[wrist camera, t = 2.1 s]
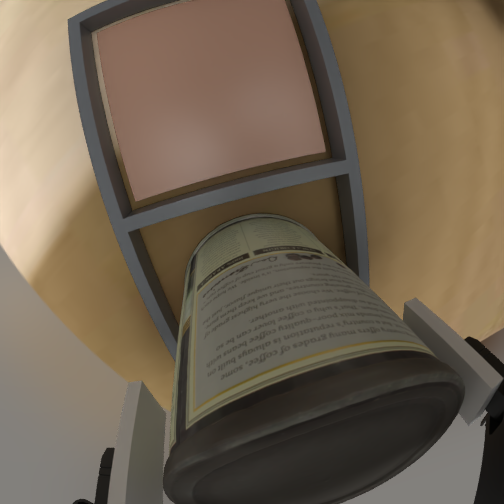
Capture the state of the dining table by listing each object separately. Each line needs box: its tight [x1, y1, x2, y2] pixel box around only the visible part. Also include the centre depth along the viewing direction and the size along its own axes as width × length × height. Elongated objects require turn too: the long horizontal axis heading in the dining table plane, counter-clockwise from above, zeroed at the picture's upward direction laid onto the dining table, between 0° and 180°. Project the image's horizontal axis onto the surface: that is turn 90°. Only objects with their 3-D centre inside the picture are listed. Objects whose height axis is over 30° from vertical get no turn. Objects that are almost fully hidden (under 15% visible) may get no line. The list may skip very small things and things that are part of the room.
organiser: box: [68, 0, 369, 362], centre depth 16 cm, size 15×28×2 cm, turn 14°
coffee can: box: [163, 214, 465, 504], centre depth 13 cm, size 10×10×14 cm
